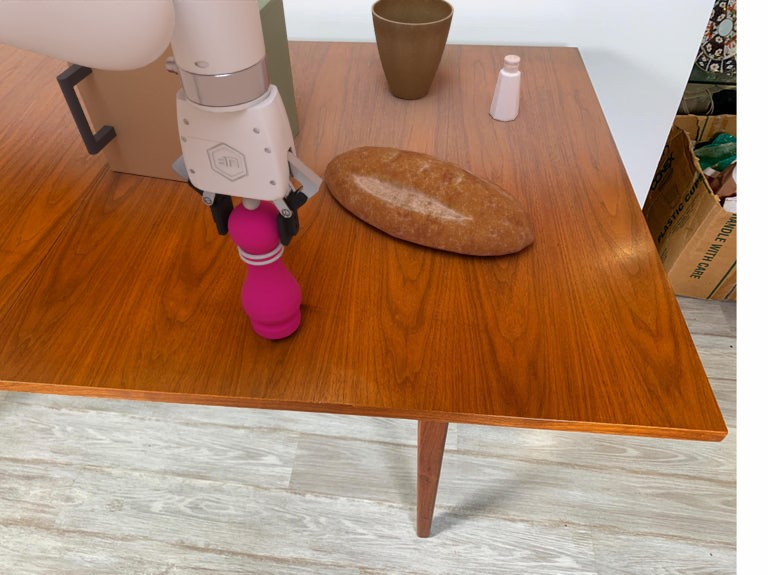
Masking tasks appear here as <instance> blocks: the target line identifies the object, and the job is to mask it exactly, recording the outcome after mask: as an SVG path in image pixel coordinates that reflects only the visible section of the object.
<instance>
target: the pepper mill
mask: <svg viewBox="0 0 768 575" xmlns="http://www.w3.org/2000/svg"><path fill="white" fill-rule="evenodd" d="M278 214H279V210H278V209H277V207H276V206H275V204H274V203H273V202H272V201H266V200H258V199H251V198H245V197H242V202H240V203H239V204H237V205H236V206H234V209H233V211H232V212H231V214H230V216H229V220H228V234H229V237H230V239H231V240H232V242H233V243H234V244H235V245H236V246H237V250H238V255H239V258H240V259H241V260H242V261H243V262H244V263H245V265H246V271H247V274H246V277H245V280H244V282H243V284H242V288H241V297H240V298H241V303H242V304H241V306H242V310H243V311H244V313H245V314H246V315H247V316H248V317H249V319H250V323H251V327H252V329H253V331H254V332H255V334H257V335H258V336H259V337H261V338H264V339H266V340H280V339H284V338H287V337H288V336H290V335H291V334H293V333H295V332H296V331H297V330H298V328H299V326H300V325H301V320H302V314H301V308H300V306H301V304H302V291H301V287H300V285H299V283H298V281H297V279H296V277H295V276H294V275H293V273H291V271H290V270H289V269H288V268H287V267H286V265H285V264H284V262H283V258H282V255H283V253H284V250H285V246H283V245H282V244H281V242H280V237H279V231H278V225H277V215H278Z"/></svg>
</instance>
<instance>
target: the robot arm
mask: <svg viewBox="0 0 768 575" xmlns="http://www.w3.org/2000/svg"><path fill="white" fill-rule="evenodd" d="M0 43H1V44H3V45H7V46H10V47H14V48H16V49H20V50H23V51H26V52H30V53H34V54H37V55H40V56H41V55H42V56H45V57H49V58H52V59H57V60H59V61H63V62H66V63H67V62H70V63H74V64H78V65H82V66H86V67H90V68H95V69H101V70H110V71H126V70H134V69H138V68H141V67H144V66H146V65H148V64H150V63H152V62H153V61H155V60H156V59H157V58H159V57H160V56H161V55H162V54H163V53H164V51H165V50H166V49H167V47H168V46H169V44H170V43H171V47H172V50H173V54H174V57H168V58H167V60H166V68H167V70H168V72H170V73H175V74H177V75H179V79H180V83H181V86H182V88H180V89H179V90H178V92H177V94H176V103H177V121H178V130H179V136H180V142H181V147H182V152H183V153H182V154H181V155H180V156H179V157H178V158H177V159H176V160H175V162H174V163H173V164H172V169H173V170H174V171H175V172H177V173H178V174H179V175H180V176H181V177H182V178H183V179H185V180H187V181H188V182H187V184H188V186H189V187H190V188H191V189H193V190H194V191H195V192H196V193H197V194H199V196H201V201H202V203H204V204H205V205H206V206H209V209H210V213H211V217H212V220H213V223H214V224H215V226H216V230H217V234H218V235H219V236H225V235H227V234H229V231H228V220H229V216H230V214H231V212H232V211H233V209H234V208H235V206H234V203H233V199H232V197H238V198H243V197H245V198H251V199H258V200H266V201H269V202H272V204H274V205H275V206H276V207H277V209H278V210H279V214H278V215H277V225H278V231H279V237H280V242H281V244H282V245H283V246H284V247H288V246H289V245H290V243H291V241H292V239H293V238H294V237H296V236H298V233H299V231H300V221H299V214H298V210H299V209H300V208H301V207H303V206H304V205H305V204H306V203H307V202H308V201H309V200H310V199H312V198H313V197H314V196H315V195H316V194H317V193H318V192H319V191H320V189H321V187H322V186H323V184H324V180H323V179H322V177H320V176H319V175H318V174H317V173H316V172H315V171H314V170H312V169H311V168H310V167H309V166H307V165H306V164H305V163H304V162H303V161H302V160H301V159H299V158H298V156H297V151H296V146H295V139H294V140H293V136H292V131H291V128H290V124H289V120H288V117H287V113H286V110H285V107H284V104H283V101H282V99H281V96H280V94H279V91H278V89H277V87H276V86H275V85H272V84H270V78H269V71H268V65H267V58H266V52H265V45H264V39H263V33H262V26H261V20H260V13H259V7H258V0H0ZM290 179H294V180H295V181H298V183H299V184H300V185H301V186H300V187H298V188H297V189H296V188H295V185H294V184H293V183H292V181H291V180H290Z"/></svg>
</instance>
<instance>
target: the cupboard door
mask: <svg viewBox="0 0 768 575" xmlns="http://www.w3.org/2000/svg"><path fill="white" fill-rule="evenodd" d="M168 57H174V54H173V50H172V47H171V43H170V44H169V46H168V47H167V49H166V50H165V51H164V53H163V54H162V55H161V56H160V57H159V58H157V59H156V60H155V61H153V62H152V63H150V64H148V65H146V66H144V67H141V68H138V69H134V70H126V71H110V70H101V69H95V68H90V67H86V66H82V65H78V64H74V63H70V62H66V63H67V66H68V68H66V69H65V70H64V71H62V72H61V73H59V74H58V75H56V77H55V79H56V81H57V84H58V86H59V88H60V90H61V92H62V95H63V98H64V100H65V103H66V104H67V106H68V109H69V111H70V114H71V116H72V118H73V121H74V123H75V125H76V127H77V130H78V132H79V134H80V136H81V139H82V142H83V144H84V147H85V148H86V150H87V153H88V155H91V156H94V155H97V154H99V153H100V152H102V151H103V153H104V157H105V158H106V160H107V164H108V166H109V168H110V170H111V172H117V173H118V172H119V173H124V174H129V175H130V174H131V175H137V176H145V177H149V178H150V177H151V178H156V179H157V178H158V179H163V180H170V181H171V180H172V181H178V182H185V183H188V181H187V180H185V179H183V178H182V177H181V176H180V175H179V174H178V173H177V172H175V171H174V170H173V169H172V164H173V163H174V162H175V160H176V159H177V158H178V157H179V156H180V155H181V154H182V153H183V152H182V147H181V142H180V136H179V130H178V121H177V103H176V94H177V92H178V90H179V89H180V88H182V86H181V83H180V79H179V75H177V74H175V73H170V72H168V70H167V68H166V60H167V58H168ZM75 86H76V88H77V90H78V92H79V95H80V97H81V99H82V102H83V105H84V108H85V110H86V112H87V115H88V117H89V119H90V122H91V124H92V126H93V129H94V131H95V133H93V131H92V129H91V126H90V123H89V121H88V119H87V116H86V114H85V112H84V109H83V107H82V104H81V102H80V99H79V98H78V94H77V92H76V90H75Z"/></svg>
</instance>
